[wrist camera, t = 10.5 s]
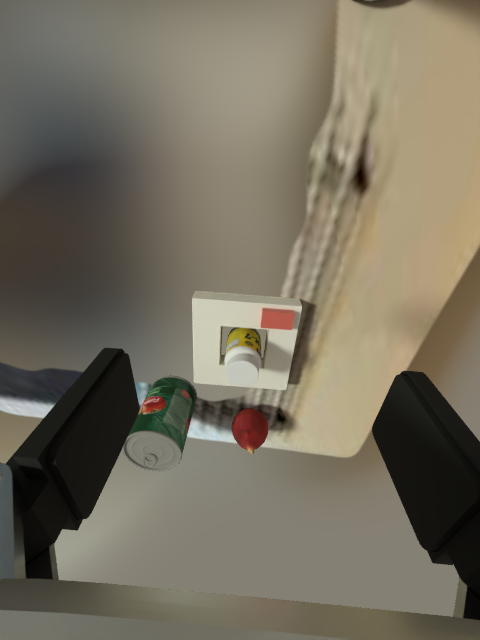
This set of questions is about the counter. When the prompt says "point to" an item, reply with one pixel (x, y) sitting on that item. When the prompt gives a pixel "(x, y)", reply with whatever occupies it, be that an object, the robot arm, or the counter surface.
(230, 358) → the supplement bottle
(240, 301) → the socket plate
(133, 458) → the canned tomato
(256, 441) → the onion
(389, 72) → the counter surface
